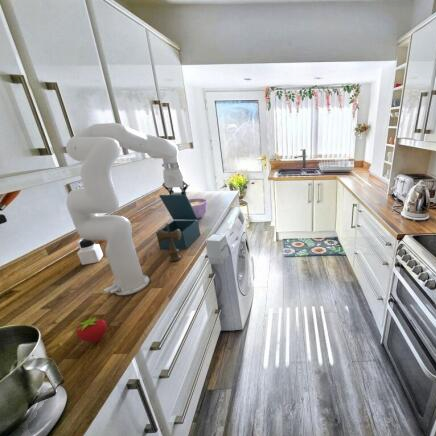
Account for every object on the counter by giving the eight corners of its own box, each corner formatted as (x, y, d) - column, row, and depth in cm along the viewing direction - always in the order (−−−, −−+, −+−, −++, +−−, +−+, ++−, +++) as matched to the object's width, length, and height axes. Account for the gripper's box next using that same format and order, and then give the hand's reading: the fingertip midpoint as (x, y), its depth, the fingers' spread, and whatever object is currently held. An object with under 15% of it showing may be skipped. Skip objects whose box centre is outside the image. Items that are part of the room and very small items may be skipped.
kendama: (168, 257, 122) (158, 221, 115) (187, 255, 123) (179, 220, 116) (163, 263, 117) (153, 226, 110) (183, 262, 117) (174, 224, 110)
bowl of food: (177, 217, 177) (173, 202, 173) (203, 210, 189) (200, 196, 185) (186, 224, 163) (183, 208, 159) (214, 217, 175) (211, 202, 171)
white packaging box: (222, 265, 114) (219, 241, 109) (208, 263, 115) (204, 240, 110) (229, 257, 120) (226, 234, 116) (216, 256, 122) (212, 233, 117)
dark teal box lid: (185, 195, 129) (188, 189, 133) (159, 195, 130) (163, 190, 134) (197, 219, 143) (199, 213, 146) (173, 219, 144) (176, 213, 147)
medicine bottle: (103, 255, 126) (96, 235, 122) (99, 262, 120) (90, 240, 116) (87, 258, 124) (79, 237, 120) (81, 265, 118) (72, 243, 113)
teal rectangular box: (186, 249, 130) (182, 232, 126) (160, 248, 131) (155, 232, 128) (200, 234, 147) (197, 219, 143) (177, 234, 148) (173, 219, 144)
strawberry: (108, 346, 73) (97, 321, 69) (78, 353, 71) (66, 328, 67) (115, 331, 78) (105, 307, 74) (87, 337, 76) (76, 313, 72)
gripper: (152, 167, 127) (160, 199, 133) (183, 166, 125) (190, 199, 132) (160, 165, 134) (167, 196, 140) (190, 164, 132) (196, 196, 139)
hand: (178, 197), depth 136 cm, fingers closed on dark teal box lid, 6 cm apart
